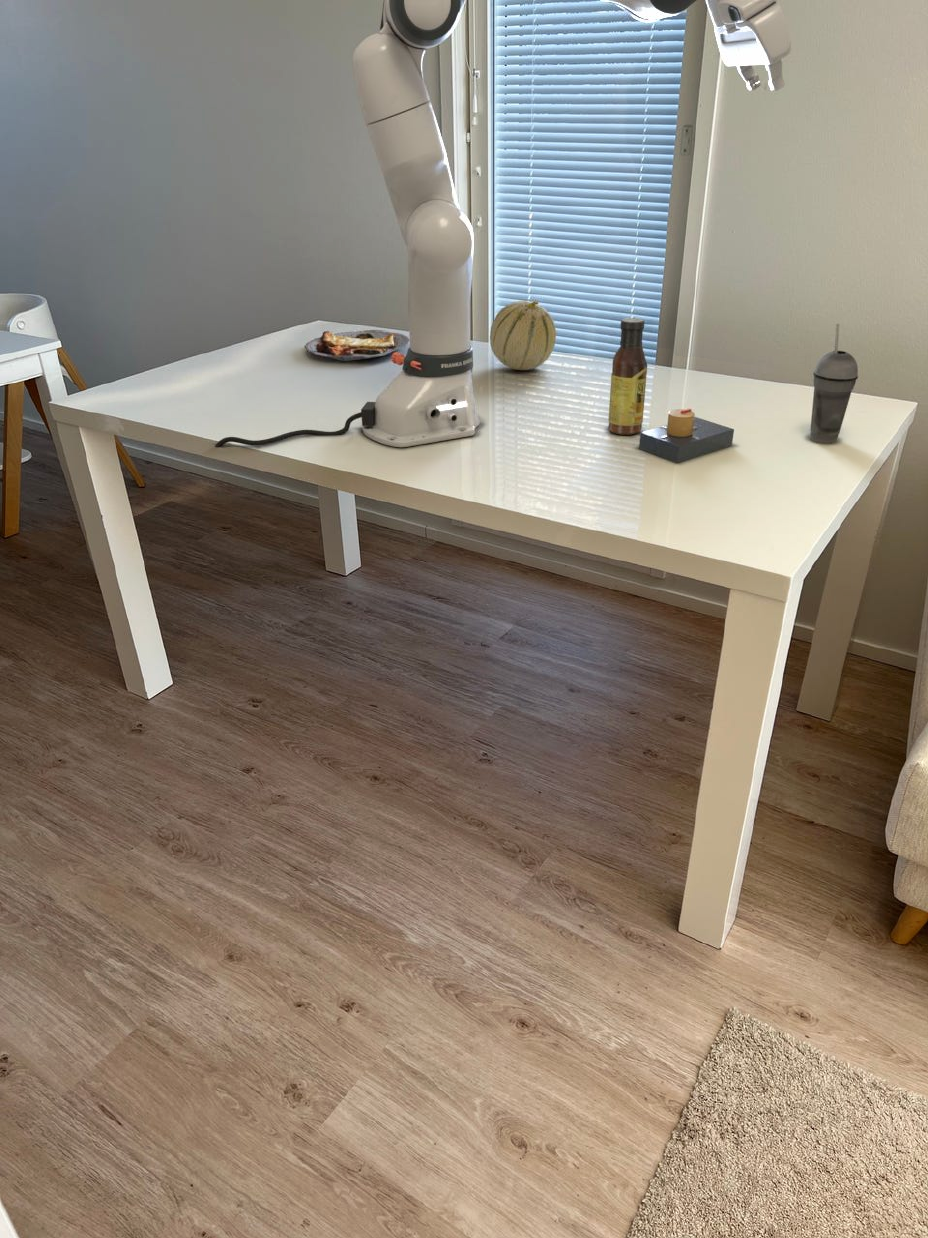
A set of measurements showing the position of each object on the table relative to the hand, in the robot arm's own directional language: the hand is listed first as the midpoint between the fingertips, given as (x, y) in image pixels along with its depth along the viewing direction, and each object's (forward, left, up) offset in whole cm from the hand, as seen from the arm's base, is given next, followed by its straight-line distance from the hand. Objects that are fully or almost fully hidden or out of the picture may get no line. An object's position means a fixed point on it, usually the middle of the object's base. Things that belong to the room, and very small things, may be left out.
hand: (766, 88), depth 154 cm
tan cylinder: (-25, -11, -51) cm, 58 cm away
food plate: (-34, +84, -55) cm, 106 cm away
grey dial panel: (-23, -11, -54) cm, 60 cm away
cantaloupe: (-13, +47, -55) cm, 73 cm away
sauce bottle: (-25, +2, -55) cm, 60 cm away
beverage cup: (-1, -23, -55) cm, 59 cm away
